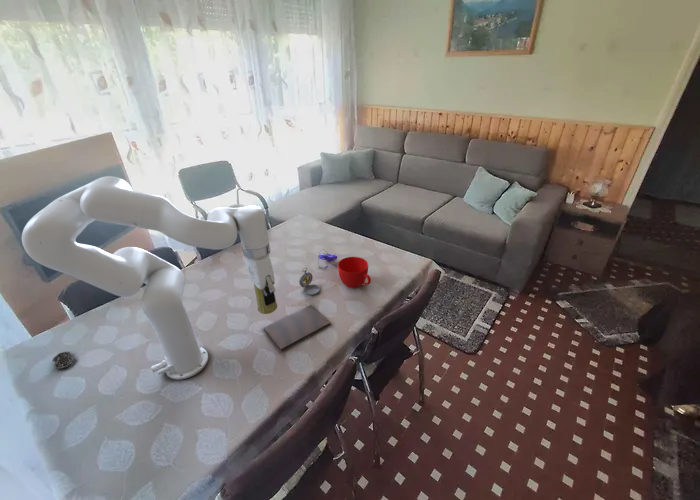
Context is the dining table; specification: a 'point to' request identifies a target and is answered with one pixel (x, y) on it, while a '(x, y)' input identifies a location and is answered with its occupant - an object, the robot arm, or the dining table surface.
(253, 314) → the dining table surface
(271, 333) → the serving board
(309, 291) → the pocket watch
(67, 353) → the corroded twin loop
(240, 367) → the dining table surface
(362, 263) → the ceramic cup
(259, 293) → the vase
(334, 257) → the game controller
